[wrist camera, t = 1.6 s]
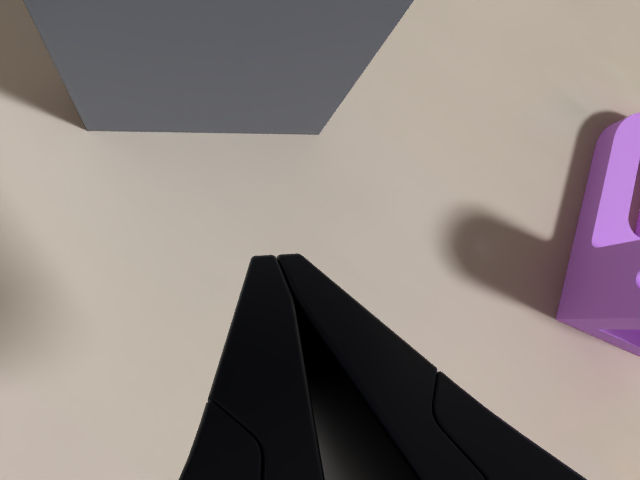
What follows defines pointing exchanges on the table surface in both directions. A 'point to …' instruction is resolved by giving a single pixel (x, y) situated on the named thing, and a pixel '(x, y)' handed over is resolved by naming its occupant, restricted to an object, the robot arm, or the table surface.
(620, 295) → the bracket
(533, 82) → the table surface
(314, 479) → the robot arm
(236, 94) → the tile
